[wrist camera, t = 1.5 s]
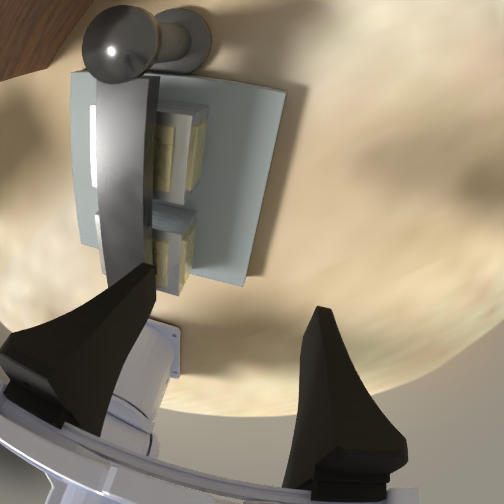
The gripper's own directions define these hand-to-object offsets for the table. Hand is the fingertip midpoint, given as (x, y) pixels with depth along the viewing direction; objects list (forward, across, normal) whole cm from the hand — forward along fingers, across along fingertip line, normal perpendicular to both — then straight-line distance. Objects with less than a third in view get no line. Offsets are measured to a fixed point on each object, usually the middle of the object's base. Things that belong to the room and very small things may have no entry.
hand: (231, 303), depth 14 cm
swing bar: (+5, +7, -2) cm, 9 cm away
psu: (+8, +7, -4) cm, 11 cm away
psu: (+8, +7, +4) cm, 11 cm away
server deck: (+9, +7, -3) cm, 12 cm away
